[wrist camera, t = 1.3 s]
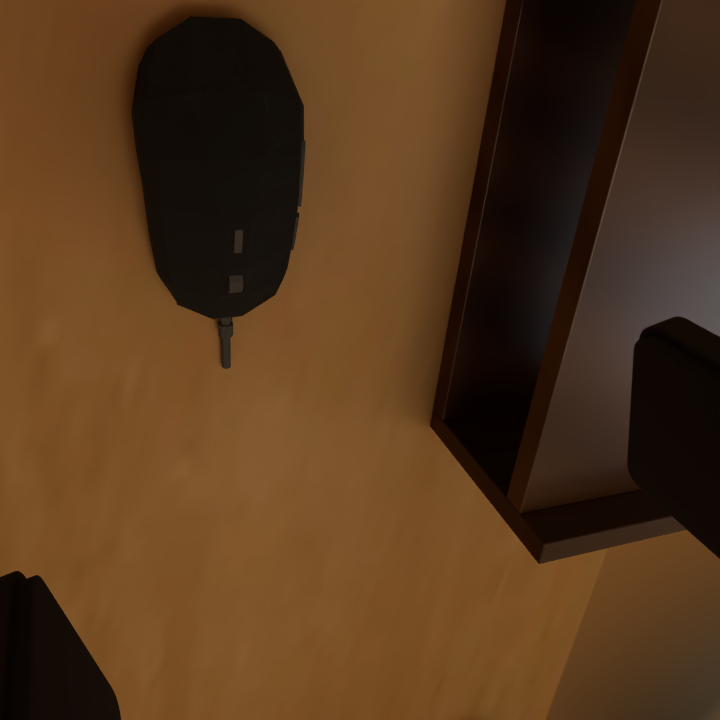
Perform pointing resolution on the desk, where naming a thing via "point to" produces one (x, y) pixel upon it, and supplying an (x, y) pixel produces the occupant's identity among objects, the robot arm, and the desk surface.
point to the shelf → (581, 258)
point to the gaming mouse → (219, 165)
